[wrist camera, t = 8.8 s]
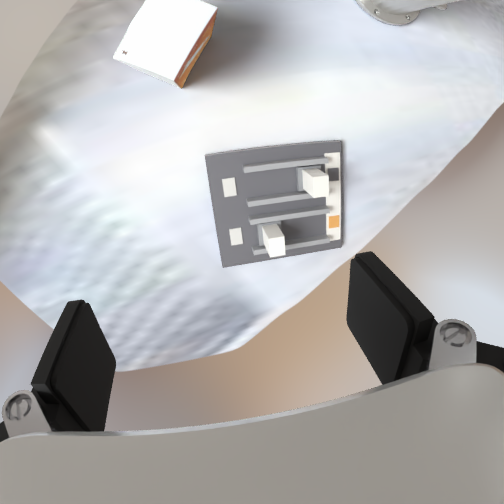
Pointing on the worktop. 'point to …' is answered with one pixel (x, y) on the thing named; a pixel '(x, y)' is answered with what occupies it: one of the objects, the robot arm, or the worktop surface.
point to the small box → (167, 38)
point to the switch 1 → (271, 238)
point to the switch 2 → (312, 180)
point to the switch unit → (274, 200)
